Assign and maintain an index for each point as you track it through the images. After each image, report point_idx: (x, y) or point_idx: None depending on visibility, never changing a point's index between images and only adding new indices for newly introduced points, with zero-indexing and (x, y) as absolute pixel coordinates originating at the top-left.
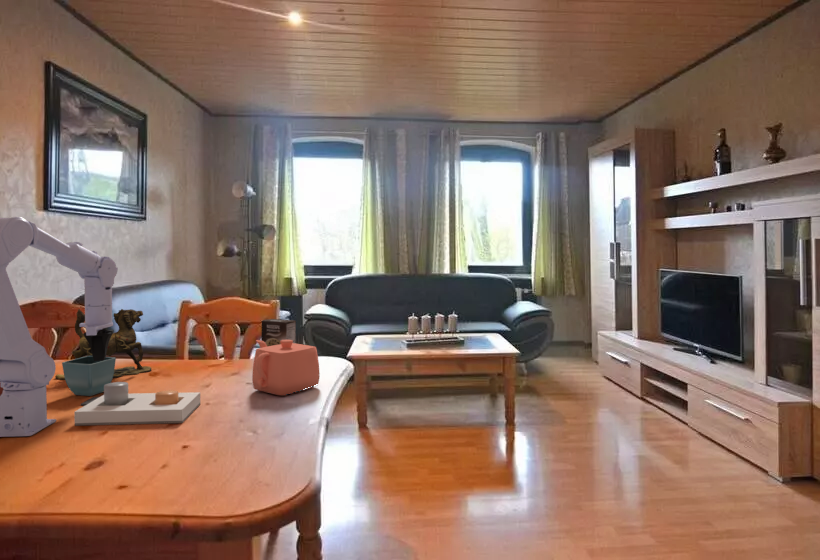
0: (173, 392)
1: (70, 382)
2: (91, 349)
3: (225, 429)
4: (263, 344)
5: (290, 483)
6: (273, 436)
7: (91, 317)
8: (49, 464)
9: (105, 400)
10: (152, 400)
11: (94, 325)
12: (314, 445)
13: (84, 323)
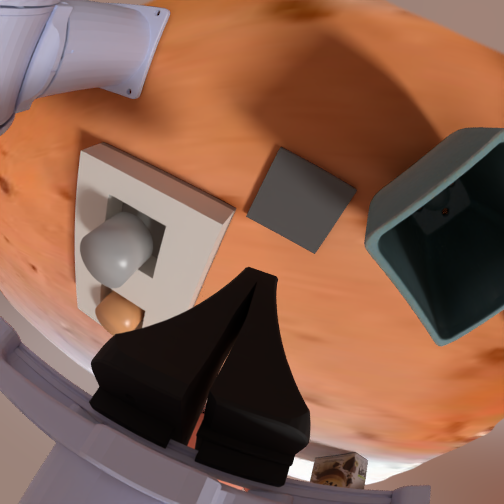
0: (115, 331)
1: (443, 141)
2: (207, 300)
3: (71, 317)
4: (244, 489)
5: (5, 292)
6: (59, 332)
7: (27, 488)
8: (5, 140)
9: (109, 218)
10: (126, 296)
11: (32, 421)
12: (47, 337)
13: (144, 493)
